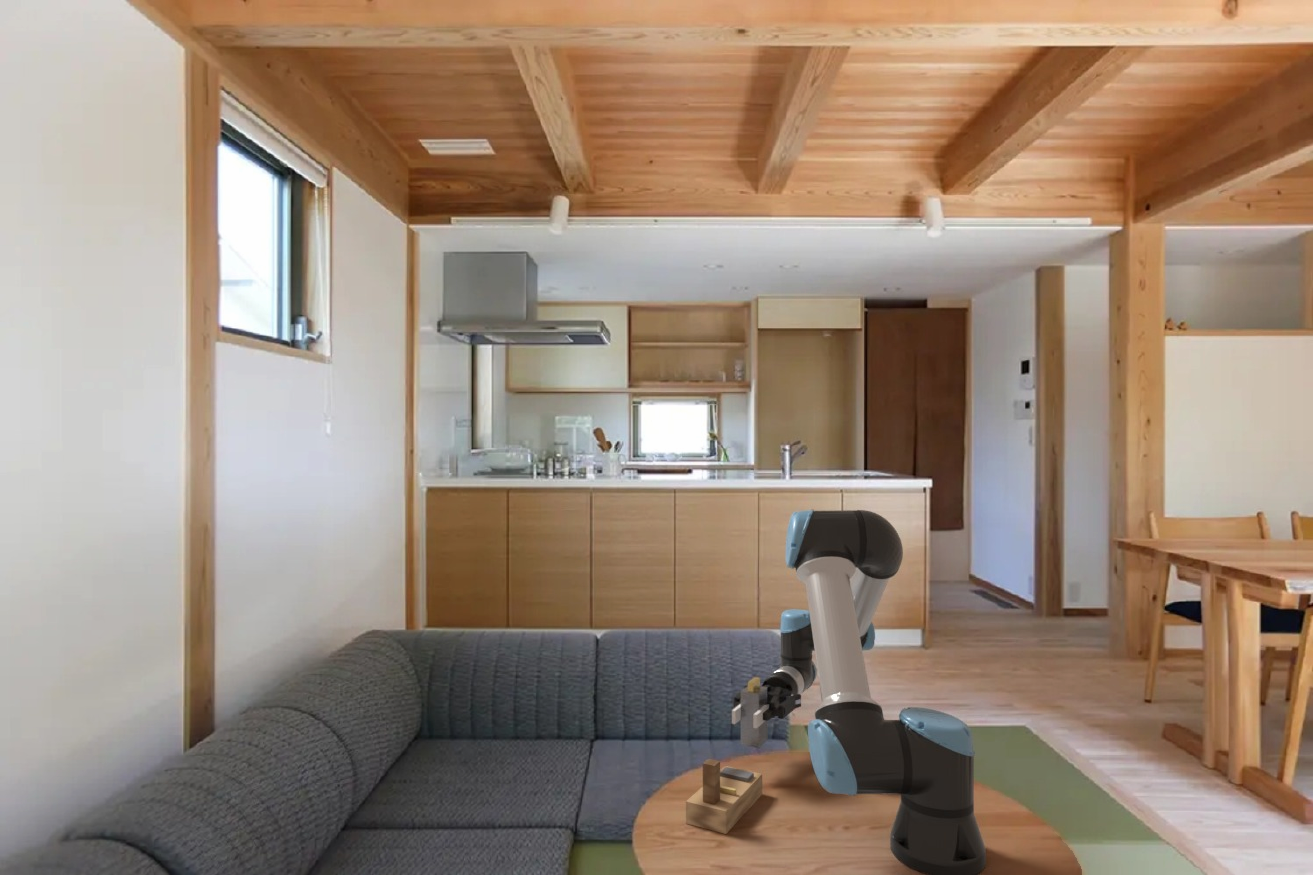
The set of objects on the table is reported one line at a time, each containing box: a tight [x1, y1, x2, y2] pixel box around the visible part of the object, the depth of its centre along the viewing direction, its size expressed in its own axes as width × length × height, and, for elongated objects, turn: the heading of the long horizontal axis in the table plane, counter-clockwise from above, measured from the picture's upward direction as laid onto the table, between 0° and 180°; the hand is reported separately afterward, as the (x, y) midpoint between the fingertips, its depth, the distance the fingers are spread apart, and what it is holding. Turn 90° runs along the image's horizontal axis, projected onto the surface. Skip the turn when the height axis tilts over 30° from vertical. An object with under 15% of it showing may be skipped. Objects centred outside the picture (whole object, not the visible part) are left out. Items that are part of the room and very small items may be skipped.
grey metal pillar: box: [740, 676, 768, 749], centre depth 158 cm, size 4×5×13 cm
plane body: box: [685, 758, 763, 835], centre depth 145 cm, size 8×18×11 cm, turn 151°
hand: (744, 719), depth 154 cm, fingers closed on grey metal pillar, 4 cm apart
